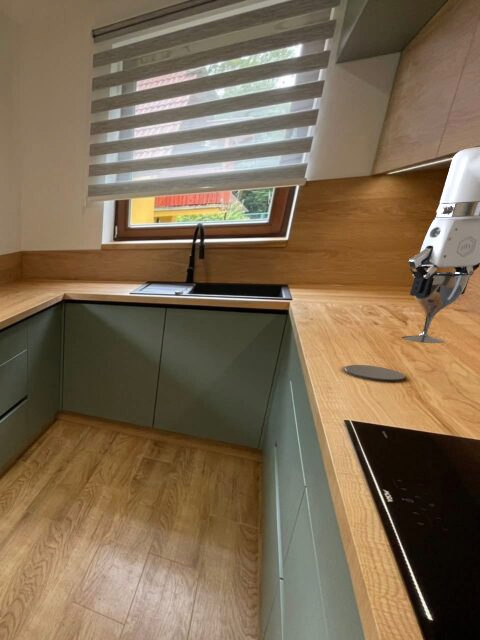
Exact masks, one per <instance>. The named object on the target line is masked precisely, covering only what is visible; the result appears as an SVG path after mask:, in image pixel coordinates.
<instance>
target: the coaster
mask: <svg viewBox="0 0 480 640" xmlns="http://www.w3.org/2000/svg"><path fill="white" fill-rule="evenodd" d="M343 371H344V372H345V373H346V374H347V375H349V376H351V377H352V376H353V377H355V378H360V379H363V380H368V381H373V382H374V381H375V382H383V383H384V382H385V383H393V382H394V383H395V382H396V383H397V382H402V381H404V380H405V375H404V374H403V373H402V372H400V371H397V370H394V369H391V368H386V367H382V366H377V365H368V364H367V365H366V364H351V365H350V364H349V365H347V366H345V367H344V369H343Z"/></svg>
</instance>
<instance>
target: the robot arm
mask: <svg viewBox="0 0 480 640" xmlns="http://www.w3.org/2000/svg"><path fill="white" fill-rule="evenodd" d="M408 264H409V267H410V272H411V273H412V278H413V282H412V285H411V289H410V291H409V295H410V296H413V297H414V296H420V297H426V296H427V295H428V291H429V288H430V285H431V282H432V279H431V278H430V276H431V275H432V274H433V273H434V272H437V270H438V269H439V268H441V269H448V268H452V270H453V273H465V274H469V278H468V281H467V283H466V286H465V288H464V290H463V292H462V293H461V295H464V294H465V292H466V289H467V286H468V283H469V280H470V277H473V275H474V274H475V271H476V270H477V269H478V268H479V267H480V146H475V147H468V148H465V149H461V150H459V151H458V152H456V153H455V154H454V156H453V158H452V160H451V163H450V167H449V170H448V174H447V177H446V180H445V182H444V186H443V191H442V194H441V197H440V200H439V204H438V207H437V209H436V212H435V217H434V219H433V221H432V223H431V224H430V226H429V228H428V230H427V233H426V235H425V237H424V240H423V243H422V244H421V248H420V251H419V253H417V254H415V255H413V256H412V257H411V258H409V260H408ZM426 269H427V270H426Z"/></svg>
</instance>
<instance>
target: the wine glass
mask: <svg viewBox="0 0 480 640" xmlns="http://www.w3.org/2000/svg"><path fill="white" fill-rule="evenodd" d="M430 278H431V279H432V282H431V285H430V288H429V291H428V295H427V296H426V297H420V296H413V297H414V299H415V301H416V302H417V304H418V305H419V306H420V307H421V308H422V310H423V311H424V314H425V318H424V326H423V330H422V332H421V333H420V334H416V335H404V336H401V339H403V340H404V341H409V342H414V343H421V344H424V343H425V344H442V343H443V344H444V343H445V342H446V340H445V339H442V338H438V337H434V336H431V335H429V334H428V331H429V328H430V326H431V323H432V321H433V319H434V317H435V316H436V315H437V314H438V313H439V312H441V311H443V309H445V308H446V307H448V306H450V305H451V304H453V303H454V302H456V301H457V300H458V299H459V298H460V296H461V295H462V294H461V293H462V292H463V290H464V288H465V286H466V283H467V281H468V282H469V280H468V278H469V279H470V277H469V274H465V273H454V272H452V271H451V272H450V271H447V272H446V271H445V272H444V271H439V272H438V271H435V272H434V273H433V274H432V275H431V276H430ZM467 284H468V283H467ZM466 287H467V286H466Z"/></svg>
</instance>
